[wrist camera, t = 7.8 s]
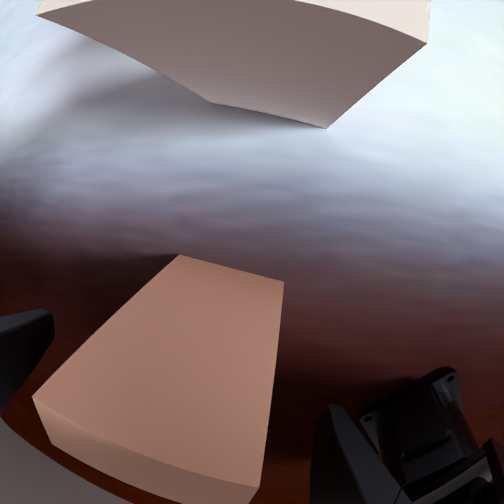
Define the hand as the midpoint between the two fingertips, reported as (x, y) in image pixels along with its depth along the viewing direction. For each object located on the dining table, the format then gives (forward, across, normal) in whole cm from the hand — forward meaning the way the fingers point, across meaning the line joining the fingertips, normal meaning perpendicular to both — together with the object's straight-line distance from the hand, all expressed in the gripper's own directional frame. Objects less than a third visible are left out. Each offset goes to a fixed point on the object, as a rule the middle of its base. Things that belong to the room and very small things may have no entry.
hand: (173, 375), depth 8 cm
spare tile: (+7, 0, 0) cm, 7 cm away
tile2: (+7, 0, -9) cm, 11 cm away
